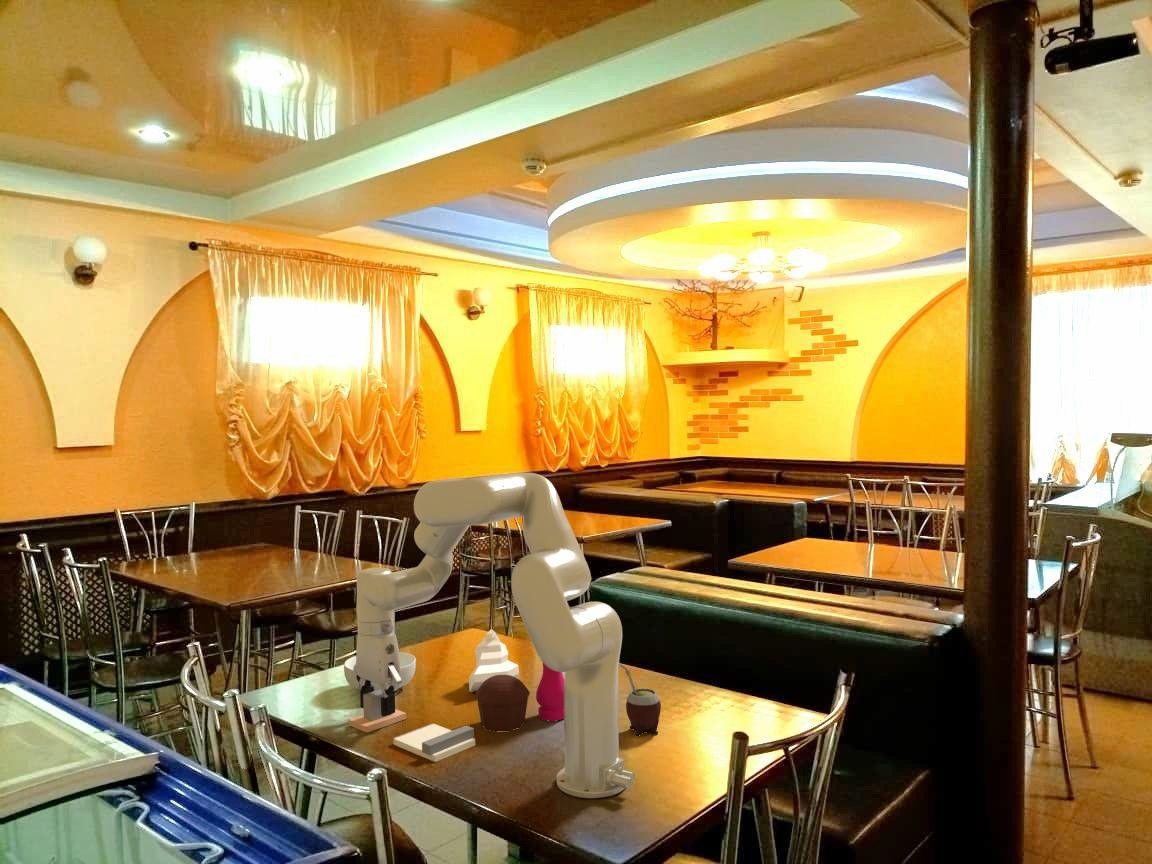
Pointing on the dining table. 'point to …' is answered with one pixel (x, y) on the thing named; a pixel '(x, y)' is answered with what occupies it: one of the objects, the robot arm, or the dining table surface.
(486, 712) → the muffin
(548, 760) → the dining table surface
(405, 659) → the cereal bowl
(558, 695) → the pepper mill
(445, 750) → the base
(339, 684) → the dining table surface
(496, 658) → the soft serve ice cream
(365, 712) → the pink base grey block
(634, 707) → the mate gourd
